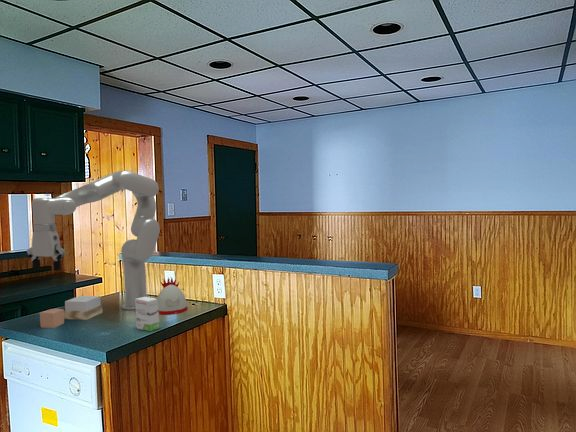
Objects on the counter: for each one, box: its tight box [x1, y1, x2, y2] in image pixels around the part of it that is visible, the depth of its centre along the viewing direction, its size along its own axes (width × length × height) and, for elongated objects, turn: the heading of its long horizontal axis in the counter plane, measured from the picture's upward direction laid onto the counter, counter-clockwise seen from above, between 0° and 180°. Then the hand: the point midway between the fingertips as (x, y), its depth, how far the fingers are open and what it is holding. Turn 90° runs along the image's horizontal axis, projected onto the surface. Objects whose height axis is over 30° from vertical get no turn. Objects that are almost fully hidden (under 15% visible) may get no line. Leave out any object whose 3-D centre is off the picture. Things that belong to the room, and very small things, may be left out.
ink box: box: [135, 296, 160, 332], centre depth 164 cm, size 9×5×12 cm, turn 55°
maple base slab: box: [64, 304, 103, 321], centre depth 184 cm, size 11×11×4 cm
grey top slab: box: [64, 295, 102, 311], centre depth 184 cm, size 10×10×4 cm
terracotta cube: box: [39, 308, 65, 329], centre depth 171 cm, size 6×6×6 cm
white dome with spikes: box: [156, 277, 188, 316], centre depth 189 cm, size 14×14×15 cm
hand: (47, 270), depth 170 cm, fingers open, 9 cm apart
